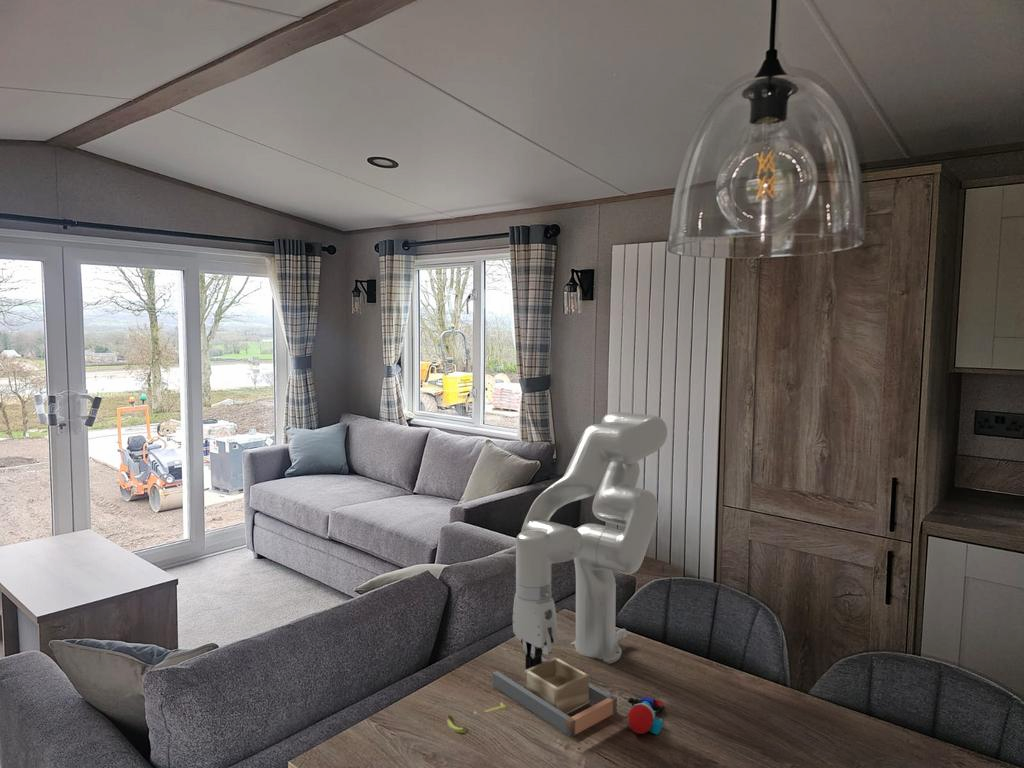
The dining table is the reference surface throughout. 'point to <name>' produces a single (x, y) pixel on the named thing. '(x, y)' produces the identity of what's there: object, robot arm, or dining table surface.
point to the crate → (558, 684)
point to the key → (463, 730)
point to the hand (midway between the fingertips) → (533, 671)
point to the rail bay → (554, 716)
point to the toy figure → (645, 715)
